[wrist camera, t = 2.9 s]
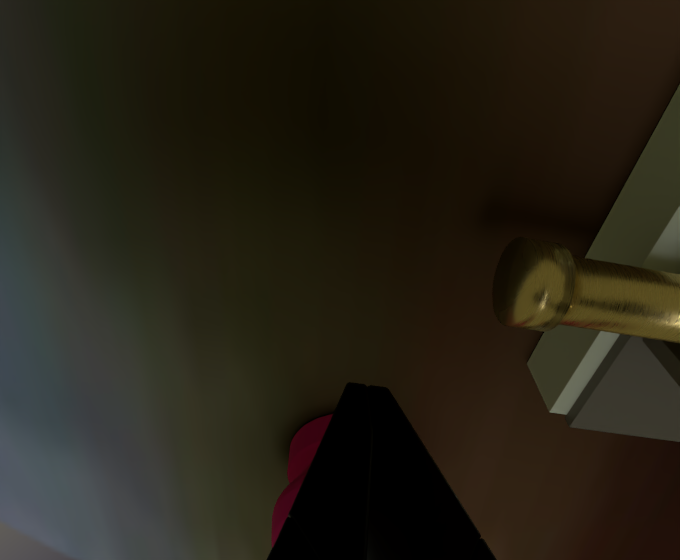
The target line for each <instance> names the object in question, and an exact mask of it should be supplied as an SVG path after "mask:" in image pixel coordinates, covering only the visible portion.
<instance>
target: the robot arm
mask: <svg viewBox="0 0 680 560" xmlns="http://www.w3.org/2000/svg"><path fill="white" fill-rule="evenodd" d="M480 537H481V535H480V533H479V531H478V530H477V528H476V527H475V525H474V523H473V522H472V520H471V519H470V517H469V515H468V514H467V512H466V511H465V509H464V508H463V506H462V504H461V503H460V501H459V500H458V498H457V496H456V495H455V493H454V492H453V490H452V489H451V487H450V485H449V484H448V482H447V481H446V479H445V477H444V476H443V474H442V473H441V471H440V470H439V468H438V466H437V465H436V463H435V462H434V460H433V458H432V457H431V455H430V454H429V452H428V451H427V449H426V447H425V446H424V444H423V443H422V441H421V439H420V438H419V436H418V435H417V433H416V432H415V430H414V428H413V427H412V425H411V424H410V422H409V420H408V419H407V417H406V416H405V414H404V413H403V411H402V409H401V408H400V406H399V405H398V403H397V401H396V400H395V398H394V397H393V395H392V394H391V392H390V390H389V389H388V388H386V387H380V386H373V385H370V386H368V387H367V386H366V385H365V384H358V383H351V382H349V383H347V385H346V386H345V389H344V391H343V393H342V395H341V398H340V400H339V402H338V404H337V407H336V409H335V411H334V413H333V415H332V418H331V420H330V422H329V424H328V427H327V429H326V431H325V433H324V436H323V438H322V440H321V442H320V444H319V447H318V449H317V451H316V453H315V456H314V458H313V460H312V462H311V465H310V467H309V469H308V471H307V473H306V476H305V478H304V480H303V482H302V485H301V487H300V489H299V491H298V494H297V496H296V498H295V500H294V502H293V505H292V507H291V509H290V511H289V514H288V517H287V518H286V520H285V522H284V524H283V526H282V529H281V531H280V533H279V535H278V538H277V540H276V542H275V544H274V546H273V548H272V550H271V552H270V554H269V556H268V558H267V560H497V559H496V558H495V556H494V555H493V553H492V552H491V550H490V548H489V547H488V545H487V544H486V542H485V541H484V539H482V538H481V539H480Z"/></svg>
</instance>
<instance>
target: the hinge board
mask: <svg viewBox="0 0 680 560" xmlns="http://www.w3.org/2000/svg"><path fill="white" fill-rule="evenodd" d="M585 258H588V259H594V260H600V261H606V262H611V263H617V264H623V265H629V266H635V267H640V268H646V269H652V270H658V271H664V272H669V273H675V274H680V85H679V87H678V88H677V90H676V92H675V94H674V96H673V97H672V99H671V101H670V103H669V105H668V107H667V108H666V110H665V112H664V114H663V116H662V118H661V119H660V121H659V123H658V125H657V127H656V129H655V130H654V132H653V134H652V136H651V138H650V139H649V141H648V143H647V145H646V147H645V149H644V150H643V152H642V154H641V156H640V158H639V160H638V161H637V163H636V165H635V167H634V169H633V171H632V172H631V174H630V176H629V178H628V180H627V181H626V183H625V185H624V187H623V189H622V191H621V192H620V194H619V196H618V198H617V200H616V202H615V203H614V205H613V207H612V209H611V211H610V213H609V214H608V216H607V218H606V220H605V222H604V224H603V225H602V227H601V229H600V231H599V233H598V234H597V236H596V238H595V240H594V242H593V244H592V245H591V247H590V249H589V251H588V253H587V255H586V256H585ZM527 365H528V367H529V369H530V372H531V374H532V376H533V378H534V380H535V382H536V385H537V387H538V389H539V391H540V393H541V395H542V397H543V400H544V402H545V404H546V406H547V408H548V410H549V412H551V413H558V414H566V417H565V419H566V421H567V423H568V425H569V427H573V428H580V429H588V430H595V431H603V432H610V433H618V434H625V435H632V436H640V437H647V438H655V439H662V440H670V441H677V442H680V343H675V342H668V341H662V340H655V339H649V338H643V337H636V336H630V335H624V334H617V333H611V332H604V331H598V330H592V329H585V328H579V327H573V326H566V325H560V324H559V325H558V326H556V327H555V328H554V329H552V330H550V331H547V332H544V333H543V335H542V337H541V339H540V340H539V342H538V344H537V346H536V348H535V350H534V351H533V353H532V355H531V357H530V359H529V360H528V362H527Z"/></svg>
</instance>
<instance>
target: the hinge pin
mask: <svg viewBox="0 0 680 560" xmlns="http://www.w3.org/2000/svg"><path fill="white" fill-rule="evenodd" d="M492 298H493V307H494V312H495V315H496V317H497V319H498V321H499V322H500V323H501V324H503V325H505V326H510V327H517V328H523V329H530V330H536V331H543V332H547V331H550V330H552V329H554V328H555V327H556V326H558V325H559V324H560V325H566V326H573V327H579V328H585V329H592V330H598V331H604V332H611V333H617V334H624V335H630V336H636V337H643V338H649V339H655V340H662V341H668V342H675V343H680V274H675V273H669V272H664V271H658V270H652V269H646V268H640V267H635V266H629V265H623V264H617V263H611V262H606V261H600V260H594V259H588V258H582V257H577V256H572V255H571V253H570V251H569V250H568V249H567V248H566V247H565V246H564V245H562V244H559V243H553V242H547V241H542V240H536V239H530V238H525V237H518V238H515V239H514V240H512V241H511V242H510V243H509V244H508V246H507V247H506V248H505V250H504V251H503V253H502V255H501V257H500V260H499V262H498V265H497V268H496V272H495V276H494V281H493V292H492Z"/></svg>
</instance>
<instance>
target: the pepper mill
mask: <svg viewBox="0 0 680 560" xmlns="http://www.w3.org/2000/svg"><path fill="white" fill-rule="evenodd" d="M332 415H333V414H330V415H326V416H323V417H319V418H317V419H315V420H313V421H311V422H309V423H307V424H305V425H304V426H303V427H302V428H301V429H300V430H299V431H298V432H297V433H296V434H295V436H294V437H293V439H292V442H291V445H290V452H289V462H288V472H287V474H288V480H289V482H290V484H289V485H288V486H287V487H286V488H285V489H284V490H283V492H282V493H281V495H280V496H279V498H278V500H277V502H276V505H275V507H274V511H273V516H272V548H273V546H274V544H275V542H276V540H277V538H278V535H279V533H280V531H281V529H282V526H283V524H284V522H285V520H286V518H287V517H288V514H289V511H290V509H291V507H292V505H293V502H294V500H295V498H296V496H297V494H298V491H299V489H300V487H301V485H302V482H303V480H304V478H305V476H306V473H307V471H308V469H309V467H310V465H311V462H312V460H313V458H314V456H315V453H316V451H317V449H318V447H319V444H320V442H321V440H322V438H323V436H324V433H325V431H326V429H327V427H328V424H329V422H330V420H331V418H332Z"/></svg>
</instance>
